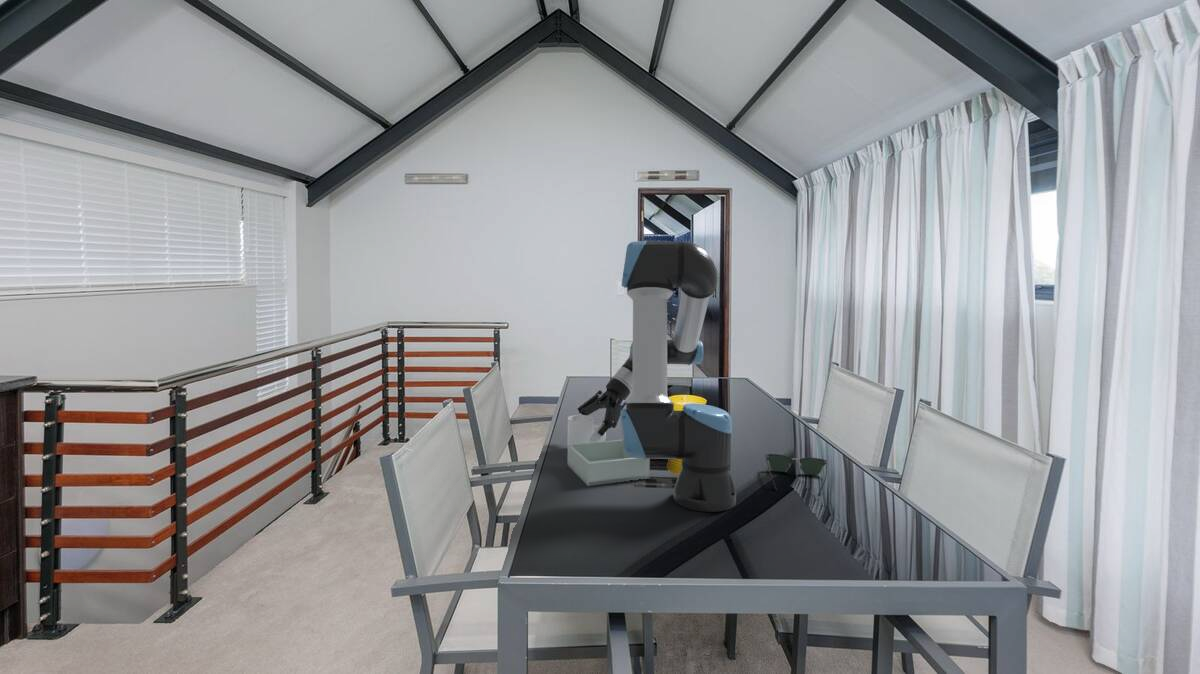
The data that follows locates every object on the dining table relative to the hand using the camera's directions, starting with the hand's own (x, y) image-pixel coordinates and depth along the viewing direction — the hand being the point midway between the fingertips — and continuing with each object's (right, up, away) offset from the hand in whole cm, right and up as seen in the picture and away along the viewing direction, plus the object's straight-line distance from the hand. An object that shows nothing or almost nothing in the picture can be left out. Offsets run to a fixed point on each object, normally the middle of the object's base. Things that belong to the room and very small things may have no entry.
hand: (580, 436), depth 181 cm
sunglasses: (+59, -9, -23) cm, 64 cm away
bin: (+8, -7, -17) cm, 20 cm away
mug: (+2, -5, +2) cm, 5 cm away
